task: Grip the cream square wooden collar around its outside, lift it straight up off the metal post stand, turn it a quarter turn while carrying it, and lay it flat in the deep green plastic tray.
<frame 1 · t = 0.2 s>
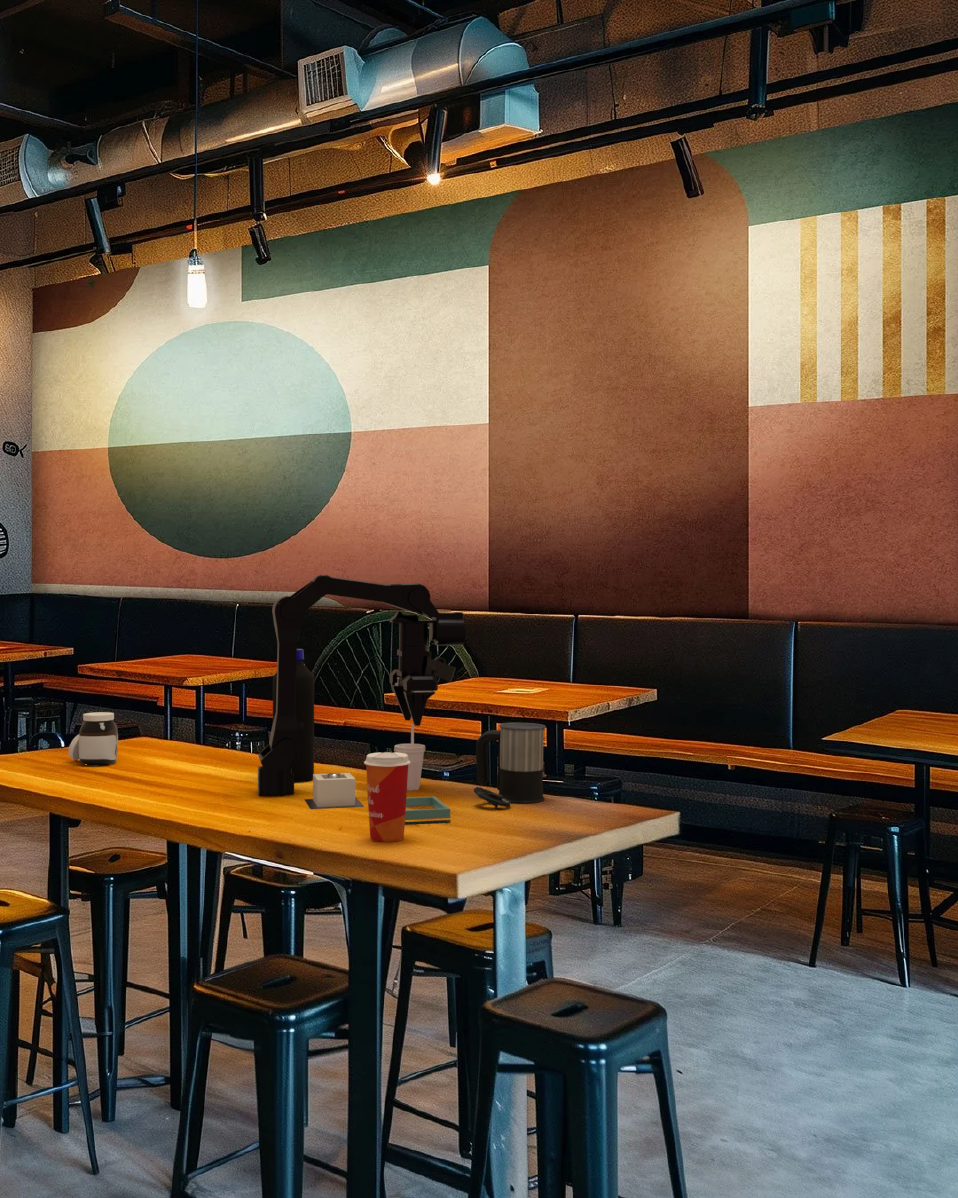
hand: (412, 723, 241), 14 cm above the table, tool pointing down, fingers open, 9 cm apart
bottle: (293, 780, 257), on the table
spread jar: (92, 764, 278), on the table
collar: (333, 803, 225), point 1 cm above the table, touching metal post stand
smoothie: (409, 794, 241), on the table
milk frother: (509, 804, 232), on the table
paper cup: (387, 839, 200), on the table
metal post stand: (333, 808, 225), on the table
tray: (408, 817, 217), on the table
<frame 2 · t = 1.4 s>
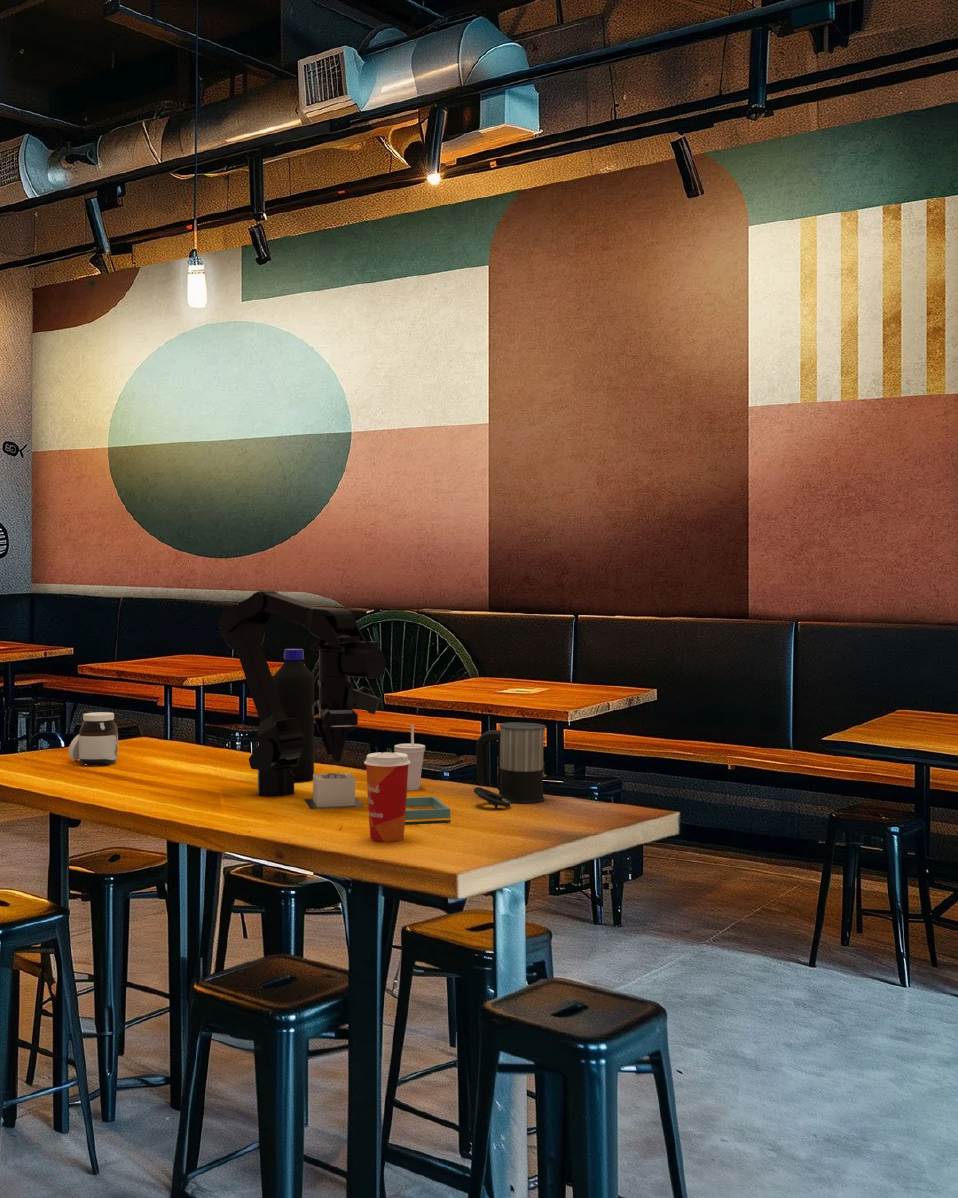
hand: (333, 758, 225), 9 cm above the table, tool pointing down, fingers open, 9 cm apart
nothing on the table moved.
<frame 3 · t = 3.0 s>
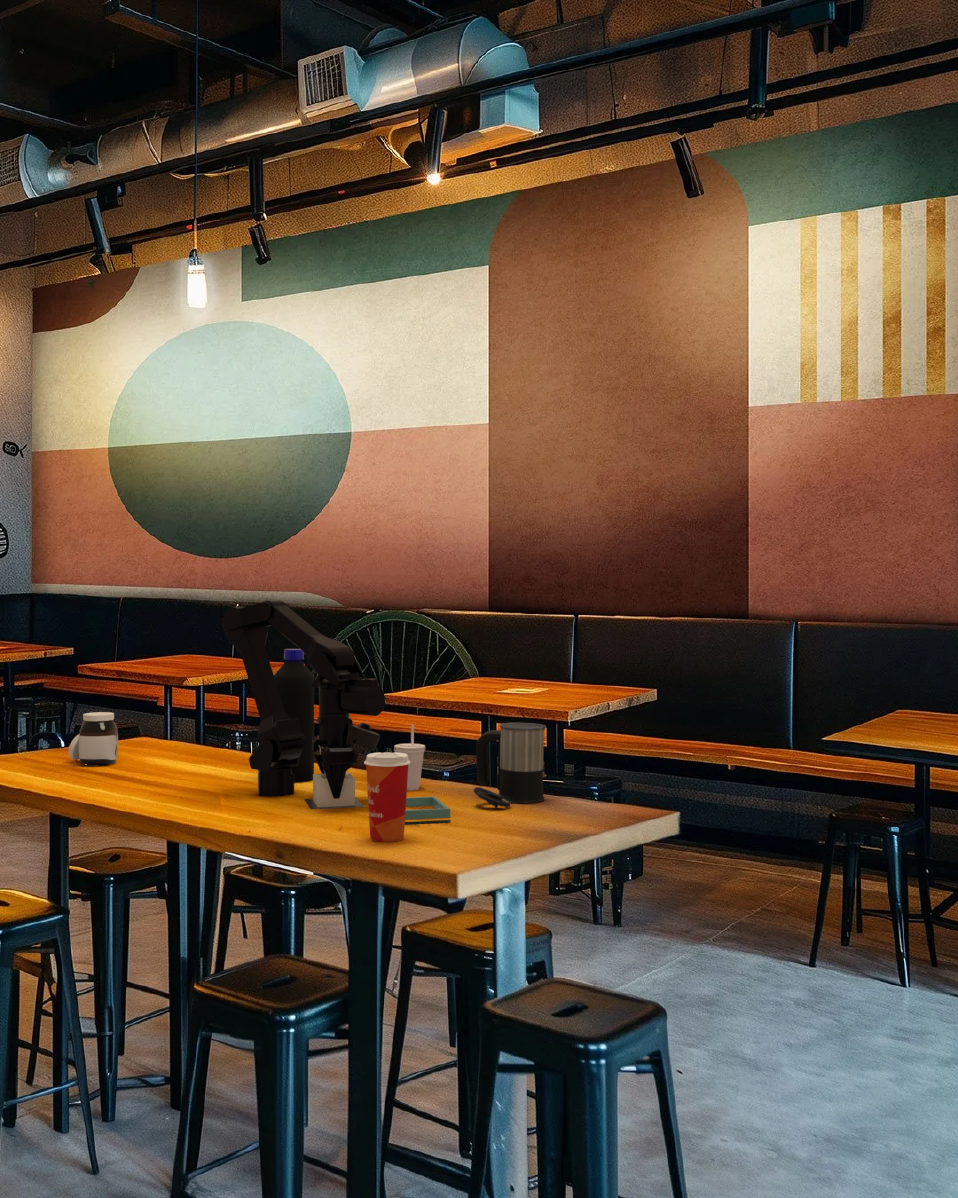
hand: (333, 795, 225), 3 cm above the table, tool pointing down, fingers closed on collar, 7 cm apart
collar: (333, 803, 225), point 1 cm above the table, touching gripper, metal post stand
everything else where it was.
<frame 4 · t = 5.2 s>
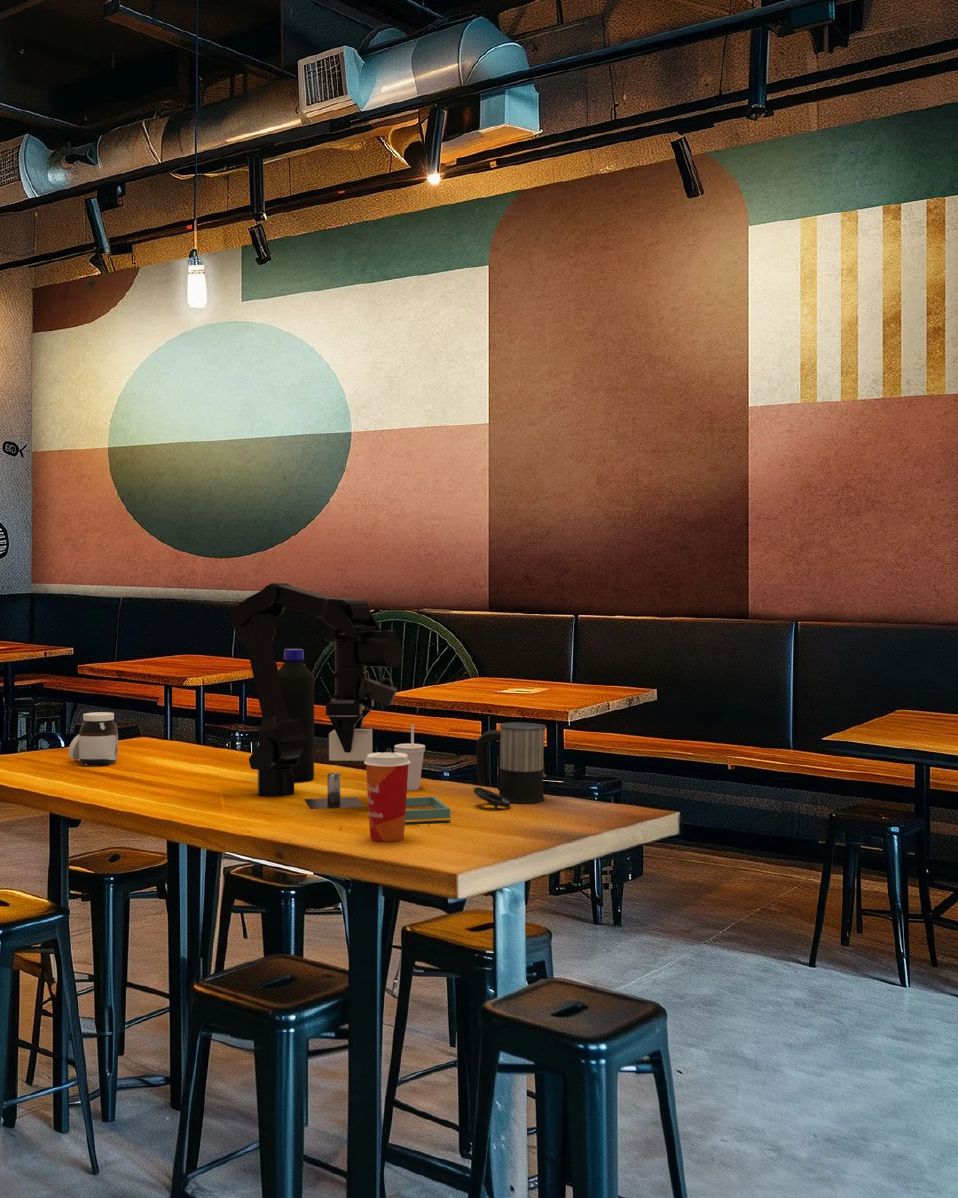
hand: (351, 749, 223), 11 cm above the table, tool pointing down, fingers closed on collar, 7 cm apart
collar: (351, 757, 223), point 10 cm above the table, touching gripper
everything else where it was.
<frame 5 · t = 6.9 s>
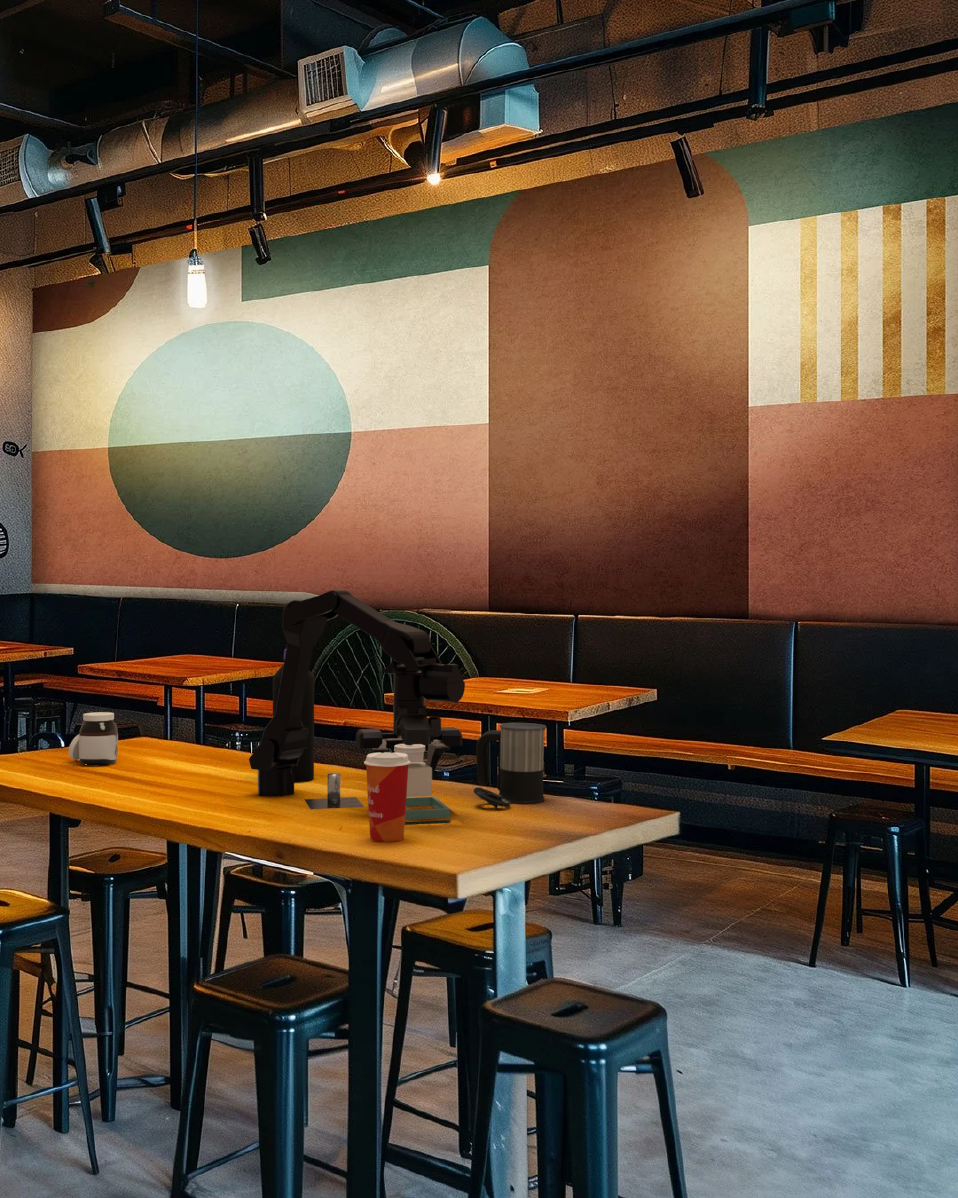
hand: (408, 785, 217), 6 cm above the table, tool pointing down, fingers closed on collar, 7 cm apart
collar: (408, 793, 217), point 4 cm above the table, touching gripper
everything else where it was.
when the fingers open (4 cm above the table, at t = 7.9 s): collar drops 2 cm, resting on tray.
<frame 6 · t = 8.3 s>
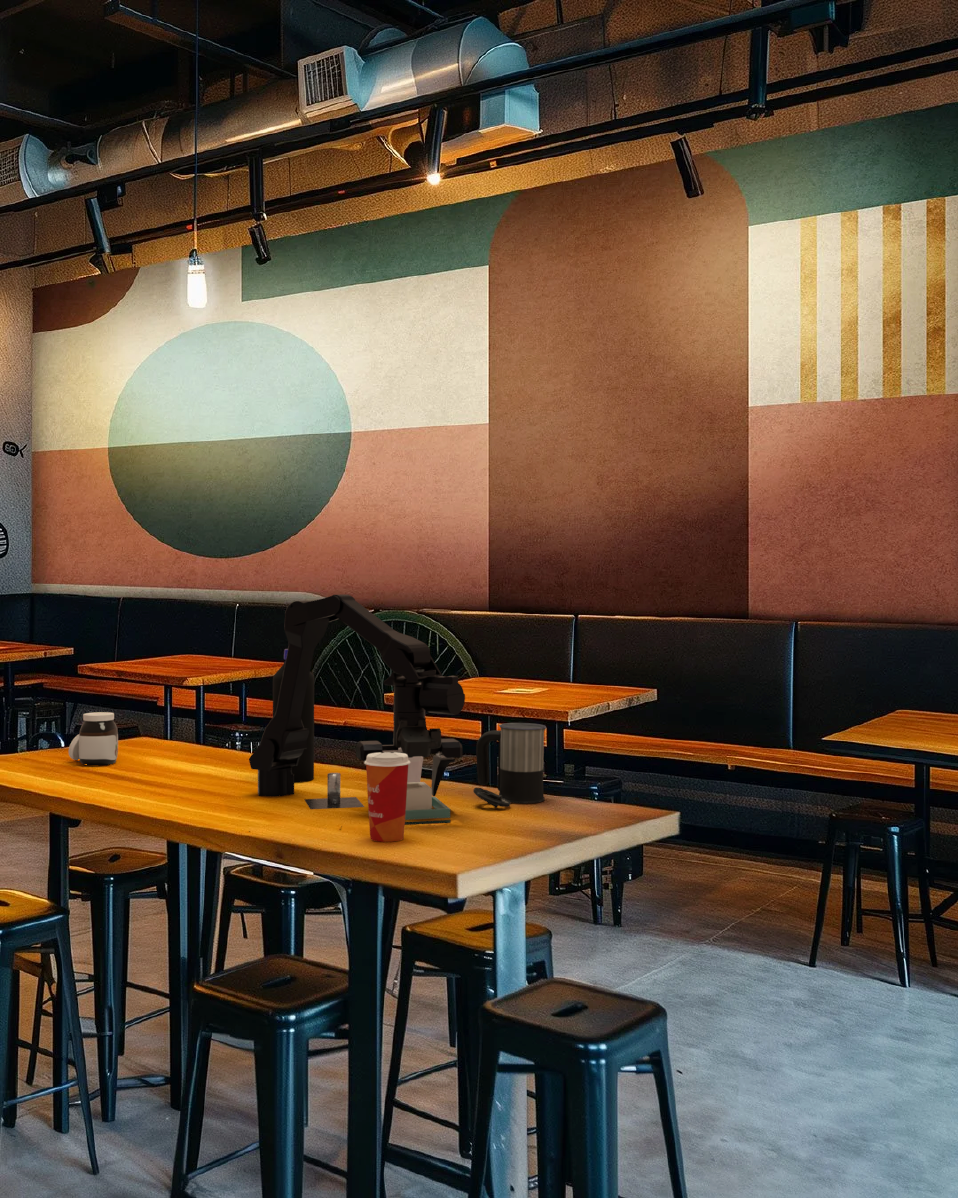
hand: (408, 797, 217), 4 cm above the table, tool pointing down, fingers open, 9 cm apart
collar: (408, 813, 217), point 1 cm above the table, touching tray
everything else where it was.
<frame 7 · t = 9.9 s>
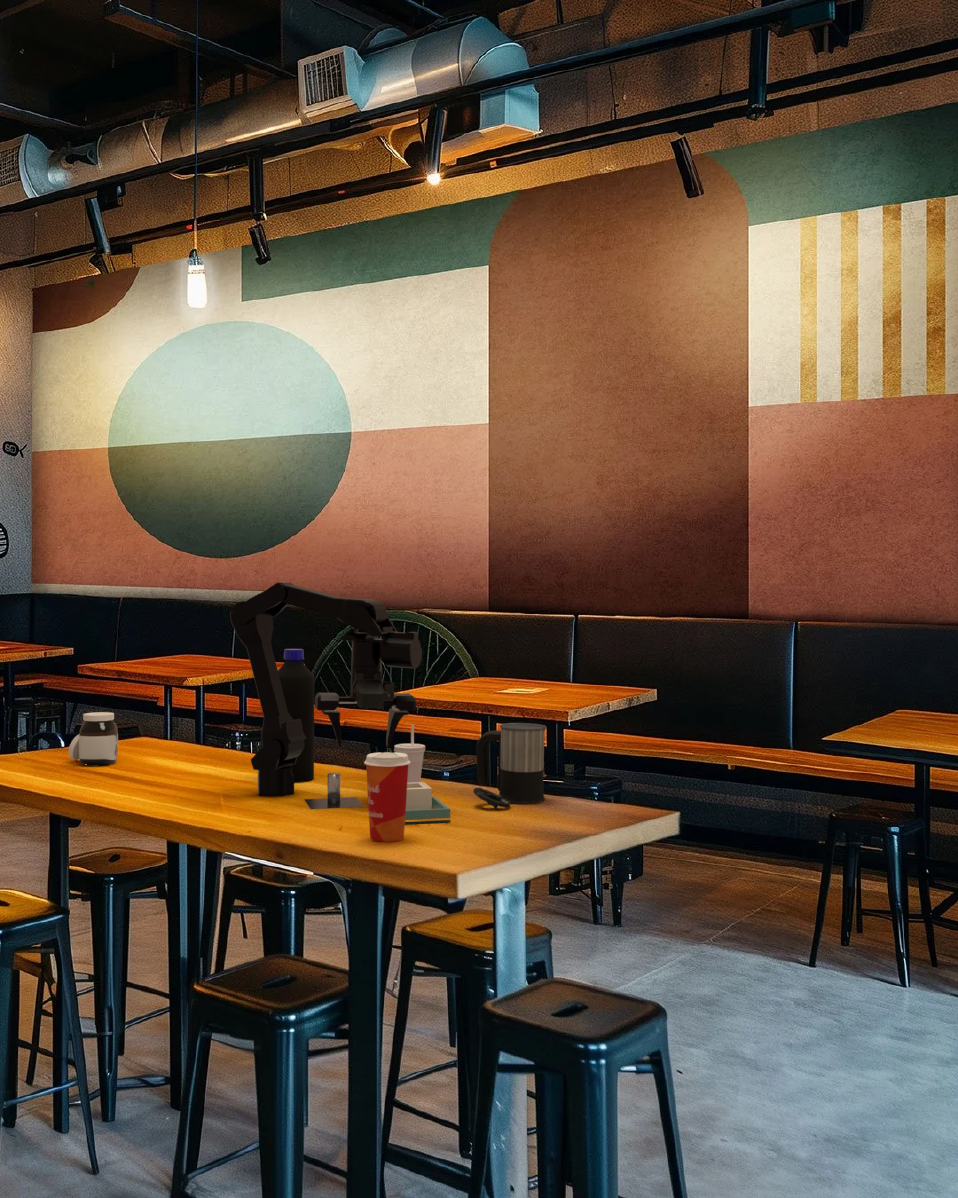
hand: (363, 747, 228), 11 cm above the table, tool pointing down, fingers open, 9 cm apart
nothing on the table moved.
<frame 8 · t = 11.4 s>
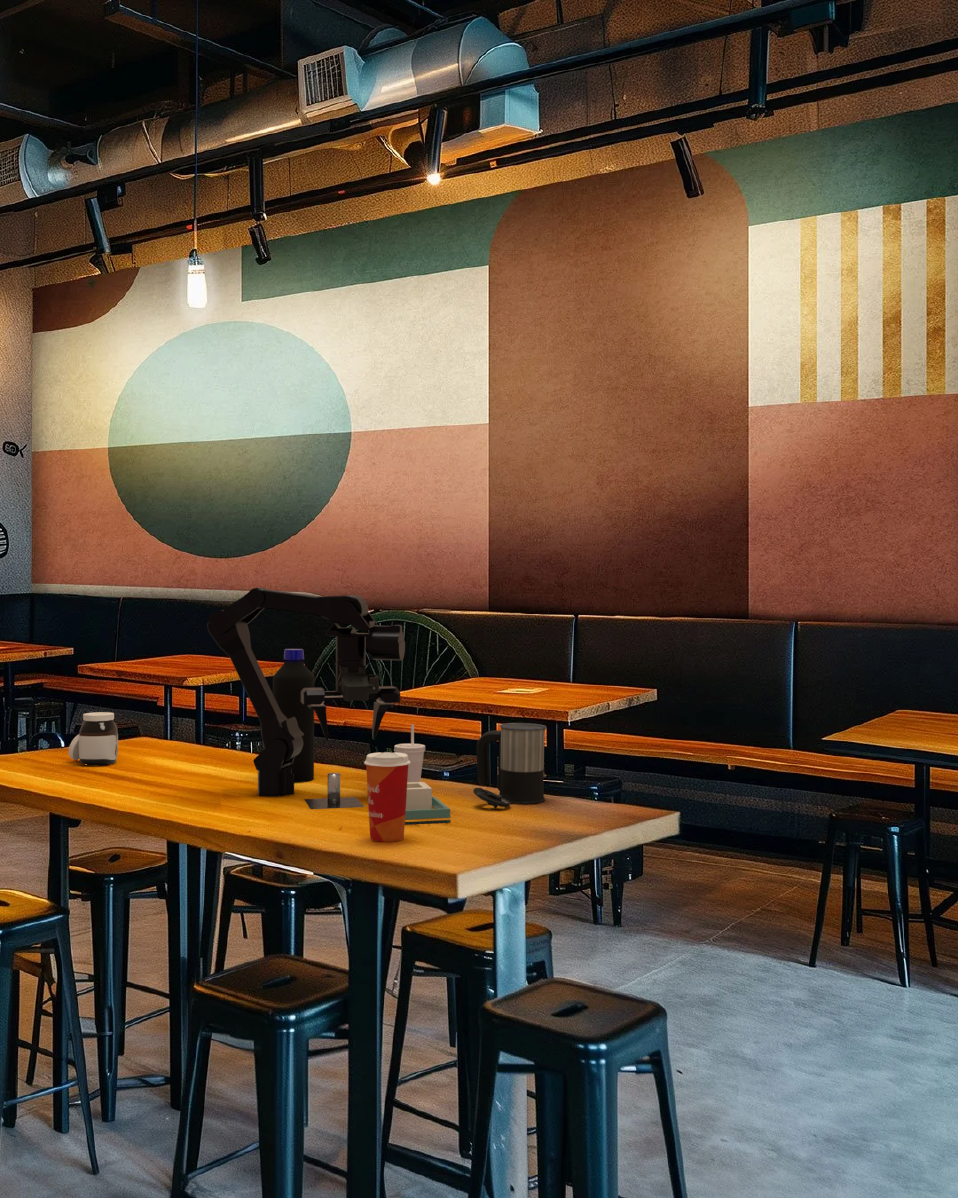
hand: (350, 739, 232), 12 cm above the table, tool pointing down, fingers open, 9 cm apart
nothing on the table moved.
at the end: collar 0.0 cm off-centre on the tray, point 0.8 cm above the tray's base; collar tilted 0°; the gripper is holding nothing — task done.
